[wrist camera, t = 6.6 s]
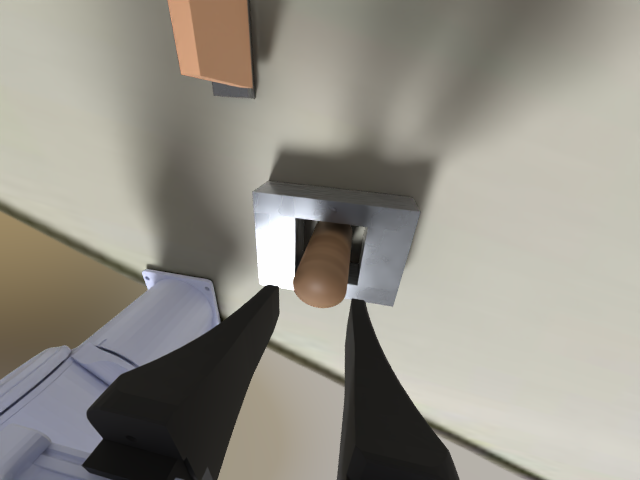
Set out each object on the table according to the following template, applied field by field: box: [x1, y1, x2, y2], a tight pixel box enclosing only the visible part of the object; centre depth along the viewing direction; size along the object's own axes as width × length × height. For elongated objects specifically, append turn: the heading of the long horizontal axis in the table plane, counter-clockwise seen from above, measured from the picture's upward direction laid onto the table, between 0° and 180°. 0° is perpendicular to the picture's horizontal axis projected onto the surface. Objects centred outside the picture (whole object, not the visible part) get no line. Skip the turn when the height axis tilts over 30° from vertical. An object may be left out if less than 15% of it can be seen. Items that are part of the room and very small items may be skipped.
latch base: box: [212, 0, 255, 99], centre depth 14 cm, size 5×2×1 cm, turn 177°
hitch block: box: [253, 181, 420, 307], centre depth 18 cm, size 8×11×3 cm
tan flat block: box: [168, 0, 253, 88], centre depth 11 cm, size 4×1×6 cm, turn 176°
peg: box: [293, 221, 353, 308], centre depth 17 cm, size 3×3×7 cm
